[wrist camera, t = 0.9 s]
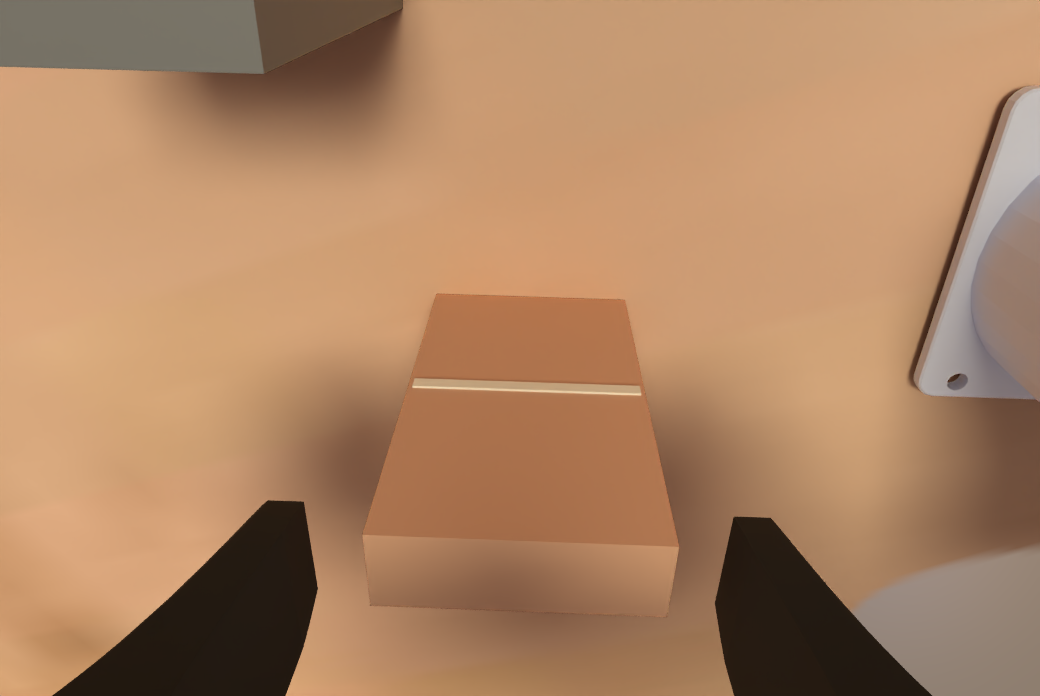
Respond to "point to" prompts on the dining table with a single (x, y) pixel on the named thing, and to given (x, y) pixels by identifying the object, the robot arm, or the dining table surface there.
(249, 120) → the dining table surface
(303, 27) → the domino
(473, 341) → the terracotta domino
